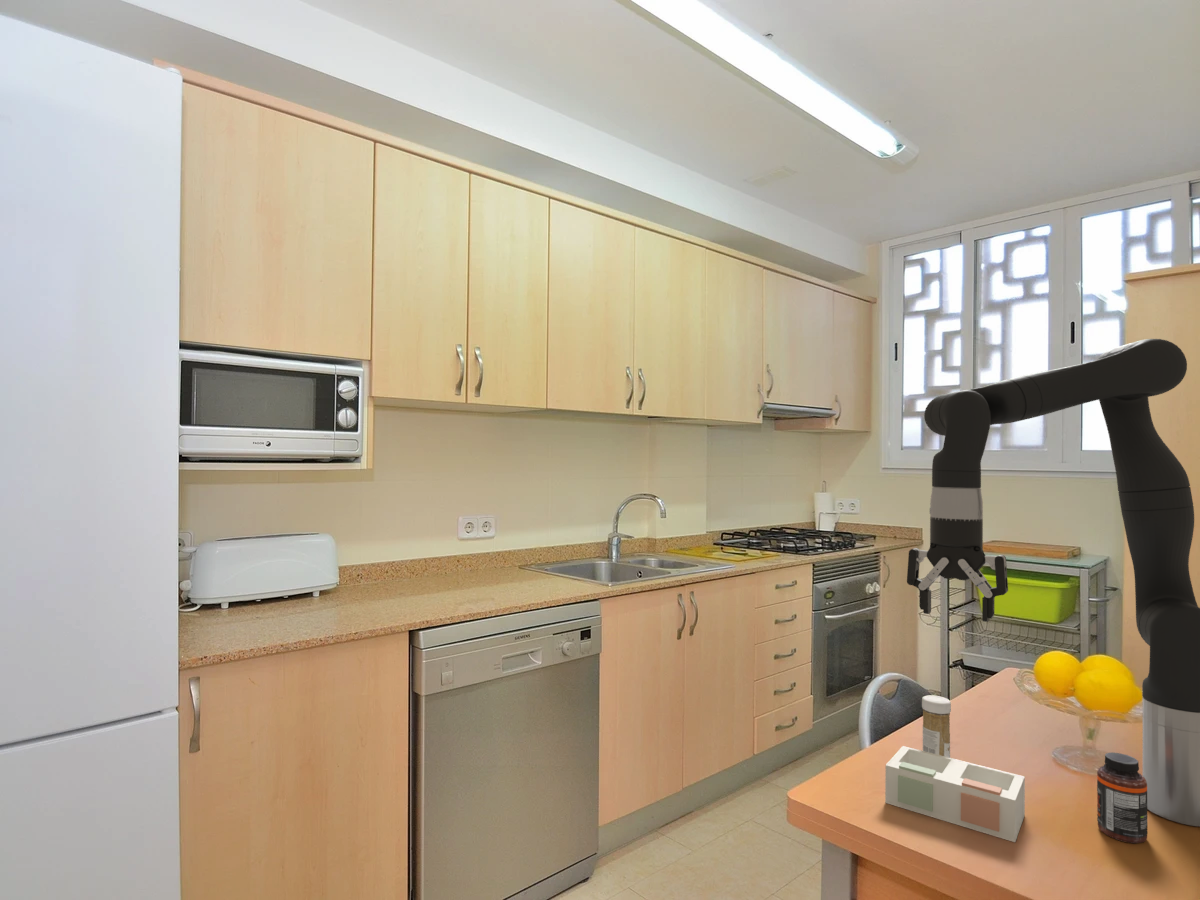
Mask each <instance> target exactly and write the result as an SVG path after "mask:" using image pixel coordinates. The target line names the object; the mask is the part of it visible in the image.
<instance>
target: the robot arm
mask: <svg viewBox="0 0 1200 900" xmlns="http://www.w3.org/2000/svg"><path fill="white" fill-rule="evenodd" d="M1187 362H1188V361H1187V358H1186V355H1185V353H1184V352H1183V350H1182V349H1181V348H1180V347H1179V346H1178V345H1177V344H1175V343H1173V342H1171V341H1170V340H1167V339H1162V338H1146V339H1141V340H1140V339H1139V340H1137V341H1133V342H1130V343H1126V344H1124V345H1123V344H1122V345H1119V346H1116V347H1113V348H1110V349H1108V350H1106V351H1104V352H1103V353H1101V354H1100V355H1099V356H1098V358H1097V359H1096V360H1092V361H1088V362H1084V363H1079V364H1074V365H1069V366H1065V367H1059V368H1055V369H1050V370H1045V371H1040V372H1039V371H1038V372H1032V373H1029V374H1025V375H1024V374H1023V375H1019V376H1016V377H1011V378H1007V379H1004V380H999V381H997V382H995V383H991V384H988V385H985V386H981V387H975V388H969V389H964V390H958V391H954V392H948V393H943V394H939V395H937V396H936V397H935V398H932V400H930V402H928V404H927V405H926V407H925V410H924V414H923V416H924V417H923V419H924V422H925V424H926V426H927V428H928V429H929V430H930V431H931V432H932V433H935V434H936V435H940V436H944V441H943V446H942V449H941V450H940V451H938V452H937V453H936V454H934V456H933V457H932V469H931V495H930V501H929V502H930V503H929V505H930V506H929V516H930V518H929V519H930V520H929V521H930V522H929V523H930V524H929V537H930V538H929V548H928V550H925V549H924V550H923V549H920V548H919V547H918V548H917V547H914V548H911V549H909V551H908V559H907V560H908V561H907V575H906V583H907V584H908V585H909V586H913V587H915V588H917V589H918V591H919V593H918V594H919V596H918V597H919V605H918V606H919V609H920V611H921V610H922V611H923V614H925V615H929V614H931V613H932V590H931V589H930V587H931V586H932V585H933V584H934V583H935V582H936V580H938V579H939V578H940V577H942V578H943V579H948V580H950V579H952V580H953V579H957V580H959V581H967V580H971V582H972V583H973V584H974V586H975V587H977V588H978V589H979V591H980V592H981V594H982V595H983V597H982V599H981V602H982V603H981V604H982V605H981V606H982V608H981V610H982V611H981V613H982V614H981V616H982V617H981V621H982V622H986V623H988V622H989V621H990V620H991V619H993V618H994V615H995V598H996V597H1000V596H1004V595H1005V594H1007V593H1008V592H1009V585H1008V584H1009V581H1008V568H1007V566H1008V565H1007V557H1006V556H1005V555H1004V554H999V555H986V553H985V552H984V549H983V547H984V546H983V545H984V544H983V543H984V541H983V539H984V538H983V537H984V533H983V532H984V529H983V527H984V526H983V525H984V522H983V521H984V519H983V518H984V515H983V514H984V506H983V503H984V502H983V495H982V488H981V487H982V464H981V463H982V458H983V455H984V452H985V451H986V450H985V449H986V445H987V441H988V437H989V433H990V427H991V426H992V425H1003V424H1012V423H1016V422H1021V421H1025V420H1029V419H1034V418H1037V417H1041V416H1045V415H1049V414H1052V413H1055V412H1058V411H1062V410H1066V409H1069V408H1073V407H1076V406H1080V405H1083V404H1087V403H1090V402H1091V403H1092V402H1094V401H1095V402H1096V401H1099V405H1100V408H1101V411H1102V416H1103V419H1104V421H1105V426H1106V428H1107V433H1108V437H1109V443H1110V448H1111V454H1112V458H1113V460H1112V461H1113V464H1114V470H1115V476H1116V484H1117V493H1118V499H1119V505H1120V510H1121V511H1120V512H1121V516H1122V519H1123V520H1122V521H1123V524H1124V525H1123V526H1124V531H1125V535H1126V540H1127V541H1126V542H1127V545H1128V549H1129V554H1130V557H1131V562H1132V565H1133V573H1134V589H1135V593H1134V594H1135V622H1136V629H1137V631H1138V633H1139V635H1140V638H1141V639H1142V640H1143V641H1144V642H1145V643H1146V644H1147V645H1148V646H1149V668H1148V675H1147V677H1145V678H1144V679H1143V680H1142V686H1141V687H1142V690H1141V691H1142V692H1141V693H1142V776H1143V777H1144V778H1145V779H1146V782H1147V811H1150V812H1151V813H1153V814H1155V815H1157V816H1159V817H1162V818H1163V819H1166V820H1169V821H1172V822H1176V823H1178V824H1182V825H1187V826H1193V827H1200V606H1199V605H1198V603H1197V600H1196V596H1195V593H1194V589H1193V585H1192V580H1191V575H1190V567H1189V561H1190V553H1191V547H1192V543H1193V538H1194V531H1195V530H1194V529H1195V509H1194V508H1195V506H1194V502H1193V494H1192V489H1191V483H1190V480H1189V476H1188V474H1187V472H1186V470H1185V468H1184V466H1183V465H1182V463H1181V462H1180V461H1179V459H1178V458H1177V456H1175V453H1173V452H1172V450H1171V449H1170V448H1169V447H1168V445H1167V444H1166V443H1165V442H1164V441H1163V439H1162V438H1161V436H1160V435H1159V433H1158V431H1157V430H1156V427H1155V426H1154V423H1153V419H1152V415H1151V408H1150V403H1149V398H1151V397H1156V396H1158V395H1163V394H1166V393H1168V392H1169V391H1171V390H1173V389H1174V388H1176V387H1177V386H1178V385H1180V383H1181V382H1182V381H1183V379H1184V378H1185V376H1186V374H1187V371H1188V363H1187ZM925 558H927V560H928V561H929V562H930V564H931V565H932V567H933V568H932V569H931V570H930V571H929V572H927V575H926V576H925V577H924V578H922V579H921V578H920V577H919V576H920V563H923V562H924V560H925ZM986 563H987V564H989V567H990V568H991V569H992V570H994V571H995V572H994V573H995V583H996V586H995V587H992V585H991V584H990V583H989V582H988V579H987V578H986V577H985V576H984V573H982V572H981V568H982V567H983V566H984V565H985V564H986Z"/></svg>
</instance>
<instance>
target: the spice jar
mask: <svg viewBox="0 0 1200 900" xmlns="http://www.w3.org/2000/svg"><path fill="white" fill-rule="evenodd" d="M921 698H922V699H921V708H922V751H925V752H929V753H933V754H937V755H941V756H945V757H949V758H951V732H950V727H951V726H950V725H951V724H950V723H951V722H950V715H951V712H952V702H951V701H950V700H949V698H947V697H943V696H939V695H932V694H931V695H924V696H922V697H921Z"/></svg>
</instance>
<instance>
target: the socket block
mask: <svg viewBox="0 0 1200 900" xmlns="http://www.w3.org/2000/svg"><path fill="white" fill-rule="evenodd" d="M1025 777H1026V776H1024V775H1020V774H1017V773H1013V772H1008V771H1005V770H1000V769H996V768H993V767H988V766H984V765H980V764H976V763H973V762H968V761H964V760H961V759H956V758H953V757H950V758H949V757H945V756H941V755H937V754H933V753H929V752H925V751H923V750H921V749H917V748H913V747H908V746H905V745H902V746H901V747H900V748H899V749H898V750H897V752H896V753H895V754H894V755H893V756H892V757H891V758H890V760H889V761H888V762H886V764H885V780H884V781H885V782H884V783H885V789H884V790H885V792H884V794H885V796H884V797H885V800H884V801H885V802H884V803H885V804H888V805H892V806H895V807H898V808H901V809H905V810H907V811H911V812H915V813H917V814H921V815H925V816H927V817H930V818H933V819H937V820H941V821H943V822H947V823H949V824H953V825H957V826H961V827H964V828H966V829H970V830H974V831H977V832H980V833H982V834H983V833H984V834H987V835H988V836H989V835H990V836H993V837H997V838H999V839H1003V840H1007V841H1010V842H1013V843H1016V841H1017V839H1018V835H1019V832H1020V830H1021V826H1022V825H1023V821H1024V818H1025V816H1026V815H1025V813H1026V812H1025V811H1026V809H1025V808H1026V807H1025V806H1026V804H1025V803H1026V802H1025V801H1026V795H1025V794H1026V791H1025V787H1026V786H1025V783H1026V780H1025Z"/></svg>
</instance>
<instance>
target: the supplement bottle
mask: <svg viewBox="0 0 1200 900" xmlns="http://www.w3.org/2000/svg"><path fill="white" fill-rule="evenodd" d="M1139 771H1140V765H1139V760H1138V759H1137V758H1135V757H1133V756H1131V755H1128V754H1124V753H1120V752H1114V751H1113V752H1111V751H1110V752H1106V753H1105V754H1104V764H1103V765H1102V766H1100V767H1099V768H1098V769H1097V772H1096V774H1097V775H1096V777H1097V779H1096V781H1097V782H1096V791H1097V792H1096V794H1097V796H1096V797H1097V801H1096V802H1097V805H1096V806H1097V807H1096V808H1097V810H1096V811H1097V813H1096V816H1097V818H1096V820H1097V826H1098V828H1099V830H1100V831H1101V832H1102V833H1103V834H1105V835H1107V836H1108V837H1110V838H1113V839H1115V840H1118V841H1121V842H1124V843H1129V844H1139V843H1140V844H1141V843H1144V842H1145V841H1147V839H1148V809H1147V782H1146V779H1145V778H1144V777H1143V774H1141V773H1139Z"/></svg>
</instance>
